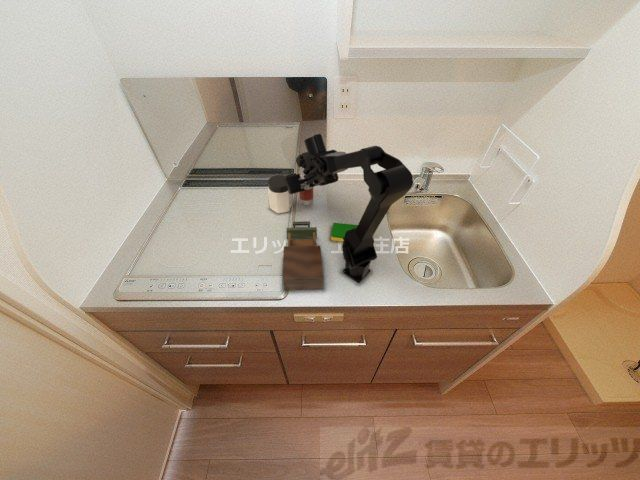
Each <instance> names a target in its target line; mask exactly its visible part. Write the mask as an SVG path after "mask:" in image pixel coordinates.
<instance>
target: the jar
mask: <svg viewBox="0 0 640 480" xmlns="http://www.w3.org/2000/svg"><path fill="white" fill-rule="evenodd" d="M285 177H286V175H284V174H275V175H272V176H271V177H269V179H268V180H267V185H268V188H267V193H268V203H269V209H270V210H272V211H273V212H275V213H276V214H283V213H284V214H285V213H288V212H290V211H291V209H292V206H293V194H289V192H288V189H287V186H286V183H285V180H284V178H285ZM291 204H292V205H291ZM290 206H291V207H290Z"/></svg>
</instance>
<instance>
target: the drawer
mask: <svg viewBox="0 0 640 480" xmlns="http://www.w3.org/2000/svg"><path fill="white" fill-rule="evenodd" d="M292 226H293V227H286V239H287V246H317V238H318V237H317V236H318V235H317V234H318V227H317V226H311V221H292ZM301 226H303V227H301ZM306 226H307V227H306Z"/></svg>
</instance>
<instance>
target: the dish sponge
mask: <svg viewBox="0 0 640 480" xmlns="http://www.w3.org/2000/svg"><path fill="white" fill-rule="evenodd" d="M357 226H358V224H352V223H343V222H333V223H332V229H331V236H330V239H331V241H334V242H341V243H343V241H344V240H343V238H344V237H345V233H346V232H347V231H348V230H351V229H354V228H356V227H357Z"/></svg>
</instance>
